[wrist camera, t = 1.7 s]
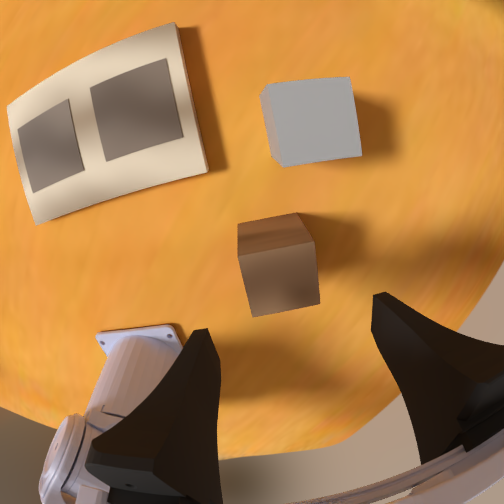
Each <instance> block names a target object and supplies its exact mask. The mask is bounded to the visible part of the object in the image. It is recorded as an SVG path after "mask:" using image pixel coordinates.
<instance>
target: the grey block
mask: <svg viewBox="0 0 504 504" xmlns="http://www.w3.org/2000/svg"><path fill="white" fill-rule="evenodd" d="M259 97H260V102H261V106H262V111H263V116H264V121H265V126H266V131H267V136H268V141H269V146H270V151H271V157H273V158H274V159H275V160H276V161H277V162H278V163H279V164H280V165H281V166H282V167H289V166H295V165H301V164H307V163H314V162H320V161H327V160H334V159H342V158H349V157H357V156H362V149H361V141H360V134H359V127H358V120H357V114H356V108H355V102H354V96H353V91H352V86H351V81H350V77H335V78H320V79H308V80H298V81H289V82H281V83H274V84H267V85H266V87H265V88H264V90H263V91H262V93H261V94H260V96H259Z"/></svg>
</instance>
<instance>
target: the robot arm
mask: <svg viewBox="0 0 504 504" xmlns="http://www.w3.org/2000/svg"><path fill="white" fill-rule="evenodd" d="M371 332H372V334H373V337H374V339H375V342H376V344H377V347H378V349H379V351H380V353H381V355H382V357H383V358H384V360H385V362H386V364H387V366H388V368H389V369H390V371H391V373H392V375H393V377H394V379H395V381H396V382H397V384H398V386H399V389H400V391H401V393H402V396H403V398H404V401H405V404H406V407H407V410H408V413H409V415H410V419H411V422H412V426H413V429H414V433H415V437H416V441H417V445H418V450H419V455H420V461H421V466H418V467H416V468H414V469H411V470H409V471H407V472H404V473H402V474H399V475H396V476H394V477H391V478H388V479H386V480H383V481H380V482H377V483H374V484H371V485H367V486H364V487H361V488H357V489H354V490H350V491H347V492H343V493H339V494H335V495H330V496H326V497H321V498H316V499H312V500H306V501H300V502H294V503H287V504H370V503H373V502H376V501H379V500H382V499H385V498H388V497H390V496H393V495H396V494H398V493H401V492H403V491H406V490H408V489H411V488H413V487H415V486H417V487H415V488H413V489H412V491H411V493H410V494H409V495H407V496H406V497H403V498H400V499H397V500H395V501H392V502H389V503H386V504H466V503H467V502H468V501H470V500H472V499H474V498H475V497H477V496H478V495H480V494H481V493H483V492H484V491H486V490H487V489H489V488H490V487H491V486H493V485H494V484H496V483H497V482H498V481H500V480H501V479H502V478H504V345H497V344H493V343H489V342H484V341H481V340H477V339H474V338H471V337H468V336H465V335H462V334H460V333H457V332H455V331H453V330H451V329H448V328H446V327H444V326H442V325H440V324H438V323H436V322H434V321H433V320H431V319H429V318H427V317H425V316H424V315H422V314H420V313H419V312H417V311H415V310H414V309H412V308H411V307H409V306H407V305H406V304H404V303H403V302H401V301H400V300H398V299H397V298H395V297H393V296H392V295H390V294H389V293H387V292H382V293H379V294H375V295H373V307H372V322H371ZM169 334H171V335H172V336H170V335H169ZM96 339H97V341H98V343H99V344H100V346H101V348H102V349H103V351H104V352H105V354H106V355H107V357H108V358H107V360H106V362H105V365H104V367H103V369H102V372H101V374H100V376H99V379H98V381H97V384H96V386H95V388H94V391H93V393H92V396H91V398H90V401H89V403H88V406H87V409H86V411H85V414H84V416H81V415H80V414H77V413H76V414H74V415H70V416H67V417H65V419H64V420H63V421H62V423H61V425H60V426H59V428H58V430H57V432H56V434H55V436H54V439H53V441H52V443H51V445H50V448H49V451H48V454H47V457H46V460H45V463H44V469H43V472H42V475H41V478H40V482H39V493H40V497H41V501H42V504H223V500H222V492H221V486H220V475H219V465H218V449H217V419H218V408H219V397H220V386H221V368H220V359H219V356H218V354H217V351H216V349H215V346H214V344H213V341H212V339H211V336H210V333H209V331H208V328H206V329H199V330H194V331H193V332H192V334H191V336H190V337H189V339H188V341H187V342H186V344H185V346H184V347H182V344H181V342H180V340H179V338H178V336H177V334H176V331H175V329H174V328H173V326H171V325H160V326H152V327H144V328H135V329H127V330H117V331H108V332H98V333H97V334H96ZM418 485H419V486H418Z"/></svg>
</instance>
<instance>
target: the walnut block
mask: <svg viewBox="0 0 504 504" xmlns="http://www.w3.org/2000/svg"><path fill="white" fill-rule="evenodd" d="M238 260H239V264H240V268H241V273H242V277H243V281H244V285H245V289H246V293H247V297H248V301H249V305H250V309H251V313H252V317H258V316H263V315H268V314H274V313H279V312H284V311H289V310H294V309H299V308H303V307H308V306H313V305H317V304H320V294H319V282H318V271H317V261H316V251H315V242H314V240H313V238H312V237H311V235H310V233H309V232H308V230H307V228H306V227H305V225H304V224H303V222H302V220H301V219H300V217H299V216H298V214H297V213H291V214H286V215H281V216H275V217H270V218H265V219H260V220H255V221H250V222H245V223H240V224H238Z"/></svg>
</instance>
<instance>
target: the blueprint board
mask: <svg viewBox="0 0 504 504" xmlns="http://www.w3.org/2000/svg"><path fill="white" fill-rule="evenodd" d="M7 113H8V120H9V126H10V132H11V137H12V142H13V147H14V152H15V157H16V161H17V165H18V169H19V173H20V177H21V180H22V184H23V187H24V191H25V194H26V197H27V201H28V204H29V207H30V210H31V213H32V216H33V219H34V221H35V224H36V226H37V225H39V224H42V223H44V222H47V221H49V220H52V219H54V218H57V217H60V216H62V215H65V214H68V213H71V212H73V211H76V210H79V209H82V208H85V207H88V206H91V205H93V204H96V203H99V202H103V201H106V200H109V199H112V198H115V197H118V196H121V195H125V194H128V193H131V192H135V191H138V190H141V189H145V188H148V187H152V186H156V185H159V184H163V183H167V182H170V181H174V180H178V179H182V178H186V177H190V176H194V175H198V174H202V173H207V172H208V170H209V167H208V163H207V159H206V154H205V150H204V146H203V141H202V137H201V133H200V128H199V124H198V119H197V115H196V110H195V106H194V101H193V97H192V92H191V87H190V83H189V78H188V73H187V69H186V64H185V59H184V54H183V49H182V44H181V39H180V34H179V29H178V27H177V25H176V24H175V22H172V23H169V24H166V25H163V26H159V27H156V28H153V29H150V30H148V31H145V32H142V33H139V34H136V35H134V36H131V37H129V38H126V39H124V40H121V41H119V42H116V43H114V44H112V45H109V46H107V47H105V48H103V49H101V50H98V51H96V52H94V53H92V54H90V55H88V56H86V57H84V58H82V59H80V60H78V61H76V62H75V63H73V64H71V65H69V66H67V67H66V68H64V69H62V70H60V71H59V72H57V73H55V74H54V75H52V76H50V77H49V78H47V79H45V80H44V81H42V82H41V83H39V84H38V85H36V86H35V87H33V88H32V89H30V90H29V91H27V92H26V93H24V94H23V95H22V96H20V97H19V98H17V99H16V100H15V101H13V102H12V103H11V104H9V105H8V106H7Z"/></svg>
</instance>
